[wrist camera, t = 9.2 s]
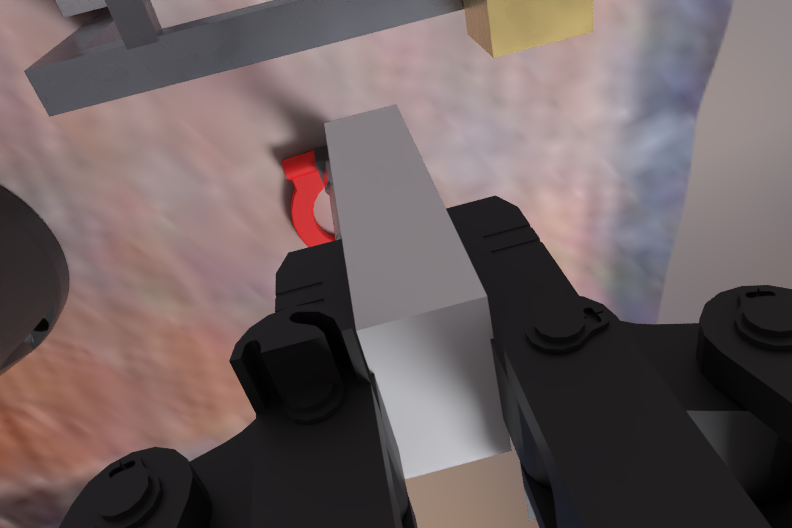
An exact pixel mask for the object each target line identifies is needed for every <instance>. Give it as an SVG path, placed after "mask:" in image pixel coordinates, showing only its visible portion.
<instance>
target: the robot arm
mask: <svg viewBox="0 0 792 528" xmlns="http://www.w3.org/2000/svg"><path fill="white" fill-rule="evenodd" d="M324 127H325V133H326V140H327V146H328V153H329V159H330V165H331V172H332V178H333V185H334V191H335V198H336V204H337V210H338V217H339V223H340V230H341V236H342V239H338V240H335V241H331V242H327V243H323V244H320V245H316V246H312V247H308V248H305V249H301V250H297V251H293V252H289V253H288V254H287V256H286V258H285V259H284V261H283V263H282V264H281V266H280V268H279V269H278V271H277V273H276V298H275V312H276V313H273V314H270V315H268V316H267V317H265V318H264V319H262V320H261V321H259V322H258V323H256V324H255V325H253V326H252V327H251V328H249V329H248V330H247V332H246V333H245V334H244V335H243V336H242V337H241V339H240V340H239V341H238V342H237V343H236V344H235V347H234V350H233V353H232V355H231V358H230V361H229V362H230V364H231V366H232V368H233V370H234V371H235V373H236V375H237V377H238V379H239V381H240V383H241V385H242V387H243V389H244V391H245V393H246V395H247V397H248V399H249V401H250V403H251V405H252V407H253V409H254V411H255V413H256V419H255V420H254V421H253V422H252V423H251V424H250V425H249V426H247V427H246V428H245V429H244V430H243V431H242V432H240V433H239V434H237V435H236V436H234V437H233V438H231V439H230V440H228V441H227V442H225V443H223V444H221V445H219V446H218V447H216V448H214V449H212V450H210V451H209V452H207V453H205V454H203V455H201V456H199V457H198V458H196V459H194V460H192V461H190V462H189V461H188V459H187V458H185V457H184V456H183V455H181V454H180V453H179V452H177V451H176V450H175V449H168V448H160V447H153V448H149V449H144V450H140V451H136V452H132V453H130V454H128V455H127V456H125V457H123V458H121V459H119V460H117V461H115V462H113V463H111V464H110V465H108V466H107V467H106V468H105V469H104V470H102V471H101V472H100V473H99V474H98V475H97V476H95V477H94V478H93V479H92V480H91V481H90V482H88V484H87V485H86V486H85V488H84V489H83V490H82V492H81V493H80V494H79V496H78V497H77V498H76V500H75V501H74V502H73V504H72V505H71V507H70V509H69V511H68V513H67V514H66V516H65V518H64V520H63V521H62V523H61V525H60V527H59V528H417V523H416V518H415V515H414V512H413V509H412V506H411V503H410V500H409V497H408V493H407V489H406V483H405V479H408V478H412V477H415V476H419V475H423V474H427V473H431V472H434V471H438V470H442V469H445V468H449V467H453V466H457V465H460V464H464V463H467V462H471V461H475V460H479V459H482V458H486V457H490V456H494V455H497V454H501V453H504V452H508V451H511V444H510V437H511V440H512V442H513V445H514V447H515V450H516V452H517V455H518V457H519V460H520V463H521V471H522V477H523V484H524V491H525V497H526V504H527V511H528V518H529V521H530V520H534V519H536V520H537V522H538V525H539V527H540V528H792V289H787V288H781V287H776V286H770V285H760V286H741V287H737V288H734V289H730V290H727V291H724V292H720V293H719V294H717V295H716V296H715V297H714V298H712V299H711V300H710V301H708V302H707V303H706V304H705V306H704V308H703V311H702V314H701V316H700V320H699V323H692V324H655V325H653V324H634V323H629V322H624V321H620V320H619V319H618V318H617V316H616V315H614V314H613V313H612V312H611V311H610V310H609V309H608V308H606V307H605V306H604V305H603V304H601V303H598V302H596V301H593V300H591V299H588V298H586V297H583V296H579V295H578V294H577V292H576V291H575V289H574V288H573V286H572V285H571V283H570V282H569V281H568V279H567V278H566V276H565V275H564V273H563V272H562V270H561V269H560V267H559V266H558V265H557V263H556V262H555V260H554V259H553V257H552V256H551V254H550V253H549V251H548V250H547V249H546V247H545V246H544V244H543V243H542V242H540V238H539V237H538V235H537V234H536V233H535V231H534V230H533V228H531V227H530V224H529V222H528V221H527V219H526V218H525V217H524V215H523V214H522V212H521V211H520V209H519V208H518V207H517V206H515V205H513V204H511V203H509V202H507V201H505V200H503V199H501V198H499V197H497V196H492V197H488V198H485V199H481V200H477V201H473V202H469V203H466V204H462V205H458V206H454V207H451V208H447V209H446V208H445V206H444V204H443V202H442V200H441V198H440V195H439V193H438V191H437V189H436V187H435V185H434V183H433V181H432V179H431V176H430V174H429V172H428V170H427V168H426V166H425V164H424V162H423V160H422V157H421V155H420V153H419V151H418V149H417V147H416V145H415V143H414V141H413V138H412V136H411V134H410V132H409V130H408V128H407V126H406V124H405V122H404V119H403V117H402V115H401V113H400V111H399V109H398V107H397V105H396V104H395V105H391V106H388V107H384V108H380V109H376V110H372V111H369V112H365V113H361V114H357V115H353V116H350V117H346V118H342V119H338V120H334V121H331V122H327V123H324ZM68 292H69V271H68V266H67V262H66V259H65V256H64V253H63V251H62V249H61V247H60V244H59V243H58V241H57V239H56V237H55V236H54V234H53V233H52V232H51V230H50V229H49V228H48V226H47V225H46V224H45V223H44V221H43V220H42V219H41V218H40V217H39V216H38V215H37V214H36V213H35V212H34V211H33V210H32V209H31V208H30V207H28V206H27V205H26V204H25V203H24V202H22V201H21V200H20V199H18V198H17V197H16V196H14V195H13V194H11V193H10V192H8V191H7V190H5V189H3V188H2V187H0V376H1V375H2V374H3V373H5V372H6V371H7V370H9V369H10V368H11V367H12V366H14V365H15V364H16V363H18V362H19V361H20V360H22V359H23V358H24V357H25V356H27V355H28V354H29V353H31V352H32V351H33V350H34V349H36V348H37V347H38V346H39V345H40V344H41V343H42V342H43V341H44V340H45V338H46V337H47V336H48V335H49V333H50V332H51V331H52V329H53V327H54V325H55V324H56V322H57V320H58V318H59V316H60V314H61V312H62V310H63V308H64V305H65V303H66V300H67V297H68ZM509 435H510V437H509ZM404 477H405V478H404Z"/></svg>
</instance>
